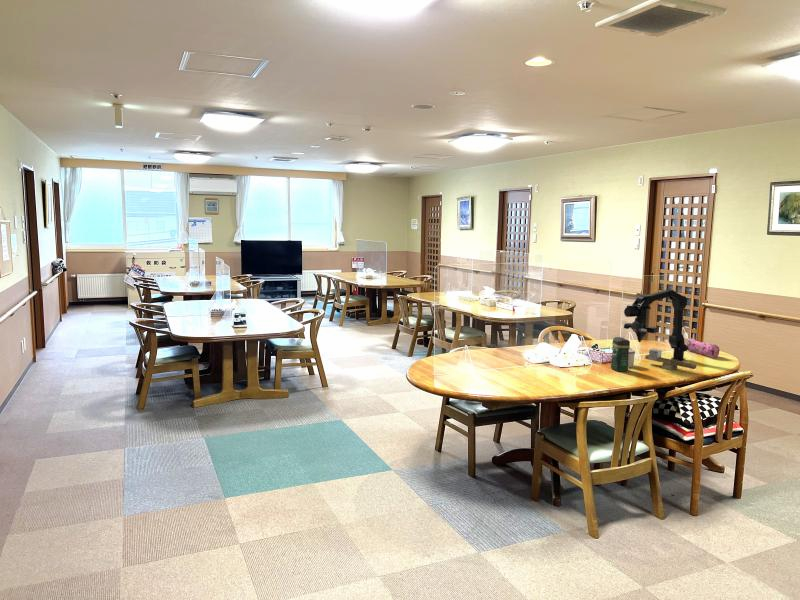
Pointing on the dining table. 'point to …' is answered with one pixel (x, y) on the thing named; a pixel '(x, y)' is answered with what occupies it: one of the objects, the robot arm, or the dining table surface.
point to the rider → (654, 354)
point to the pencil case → (703, 348)
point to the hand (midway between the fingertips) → (639, 342)
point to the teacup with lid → (631, 357)
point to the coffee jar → (620, 354)
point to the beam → (673, 363)
